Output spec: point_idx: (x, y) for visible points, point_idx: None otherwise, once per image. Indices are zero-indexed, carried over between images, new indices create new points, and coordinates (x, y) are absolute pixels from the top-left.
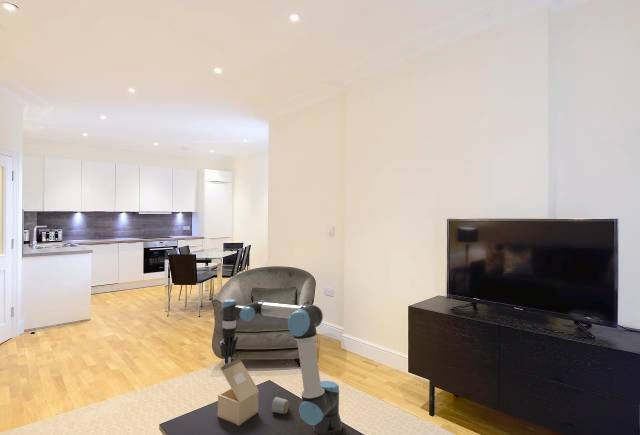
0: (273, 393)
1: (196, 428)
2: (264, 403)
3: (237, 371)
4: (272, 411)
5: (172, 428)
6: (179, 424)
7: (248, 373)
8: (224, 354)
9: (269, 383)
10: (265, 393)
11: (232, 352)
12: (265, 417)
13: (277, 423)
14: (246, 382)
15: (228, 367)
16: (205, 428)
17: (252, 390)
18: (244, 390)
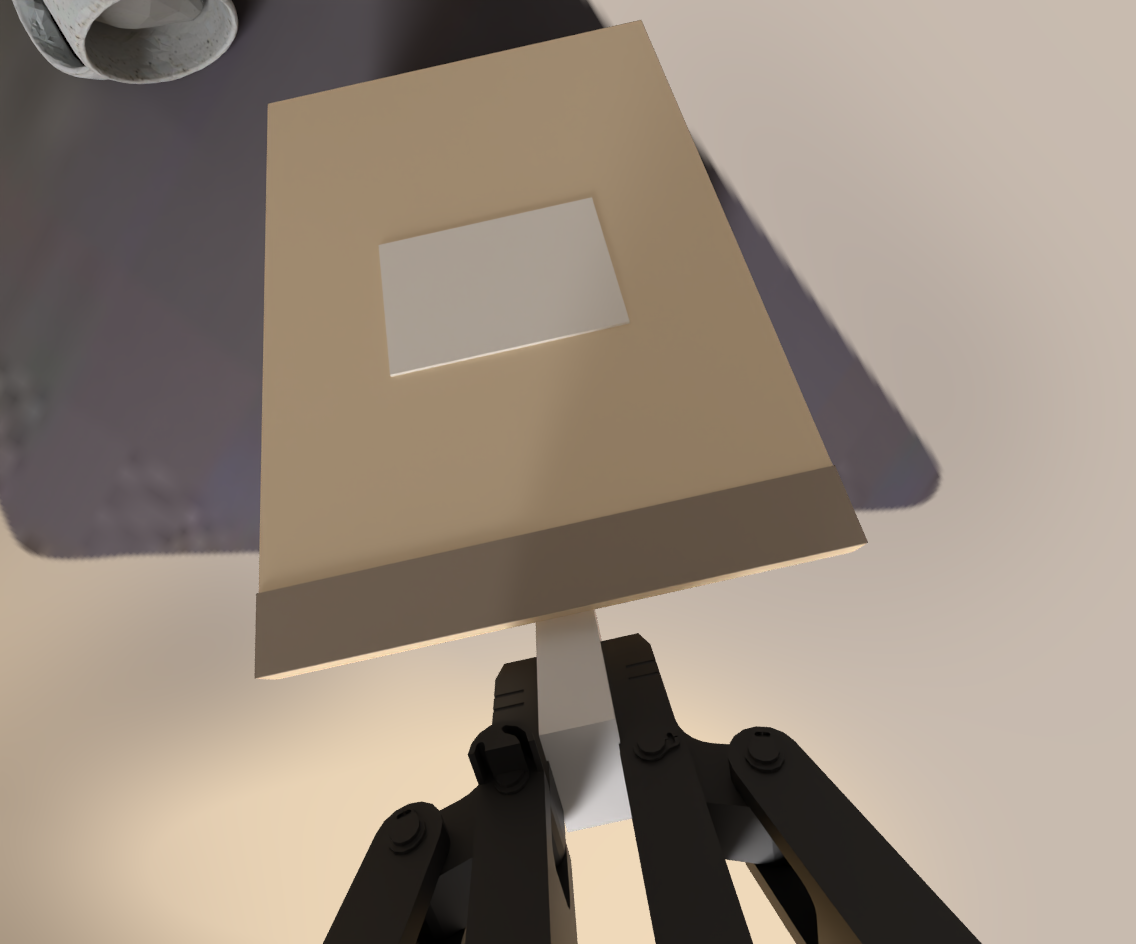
0: (62, 359)
1: (832, 344)
2: (227, 267)
3: (478, 401)
4: (235, 33)
5: (920, 458)
6: (867, 470)
7: (267, 337)
8: (882, 841)
9: (20, 534)
10: (135, 412)
11: (433, 889)
12: (341, 33)
13: None
14: (401, 213)
15: (662, 508)
16: (795, 295)
17: (368, 115)
18: (502, 125)
